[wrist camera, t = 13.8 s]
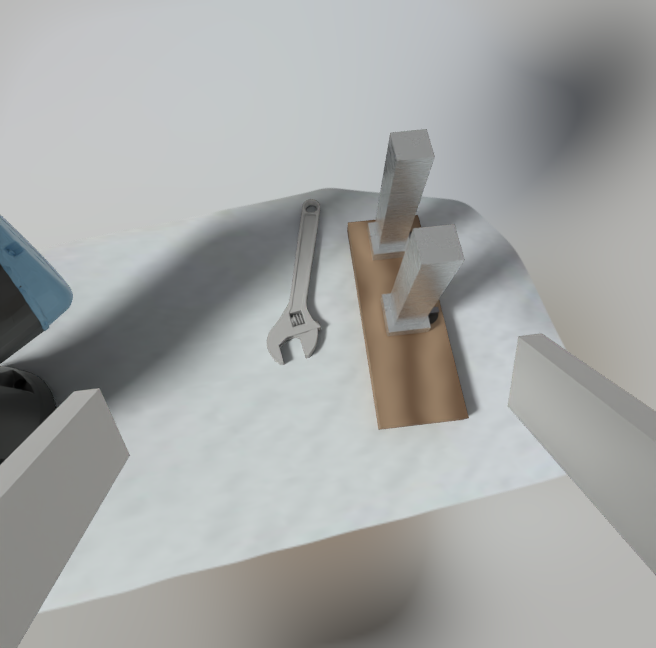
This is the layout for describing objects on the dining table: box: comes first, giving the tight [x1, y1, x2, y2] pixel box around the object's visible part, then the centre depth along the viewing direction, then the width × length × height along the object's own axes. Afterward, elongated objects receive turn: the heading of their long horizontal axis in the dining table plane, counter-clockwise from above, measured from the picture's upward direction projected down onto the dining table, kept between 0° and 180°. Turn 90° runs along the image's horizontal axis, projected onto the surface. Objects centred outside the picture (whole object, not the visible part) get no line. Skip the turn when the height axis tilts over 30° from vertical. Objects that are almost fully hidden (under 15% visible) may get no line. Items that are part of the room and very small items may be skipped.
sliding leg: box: [380, 224, 465, 336], centre depth 36 cm, size 7×5×16 cm
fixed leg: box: [367, 129, 435, 260], centre depth 40 cm, size 7×5×16 cm
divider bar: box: [347, 215, 469, 430], centre depth 45 cm, size 10×28×2 cm, turn 6°
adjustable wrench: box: [267, 199, 321, 365], centre depth 47 cm, size 25×6×2 cm, turn 170°
